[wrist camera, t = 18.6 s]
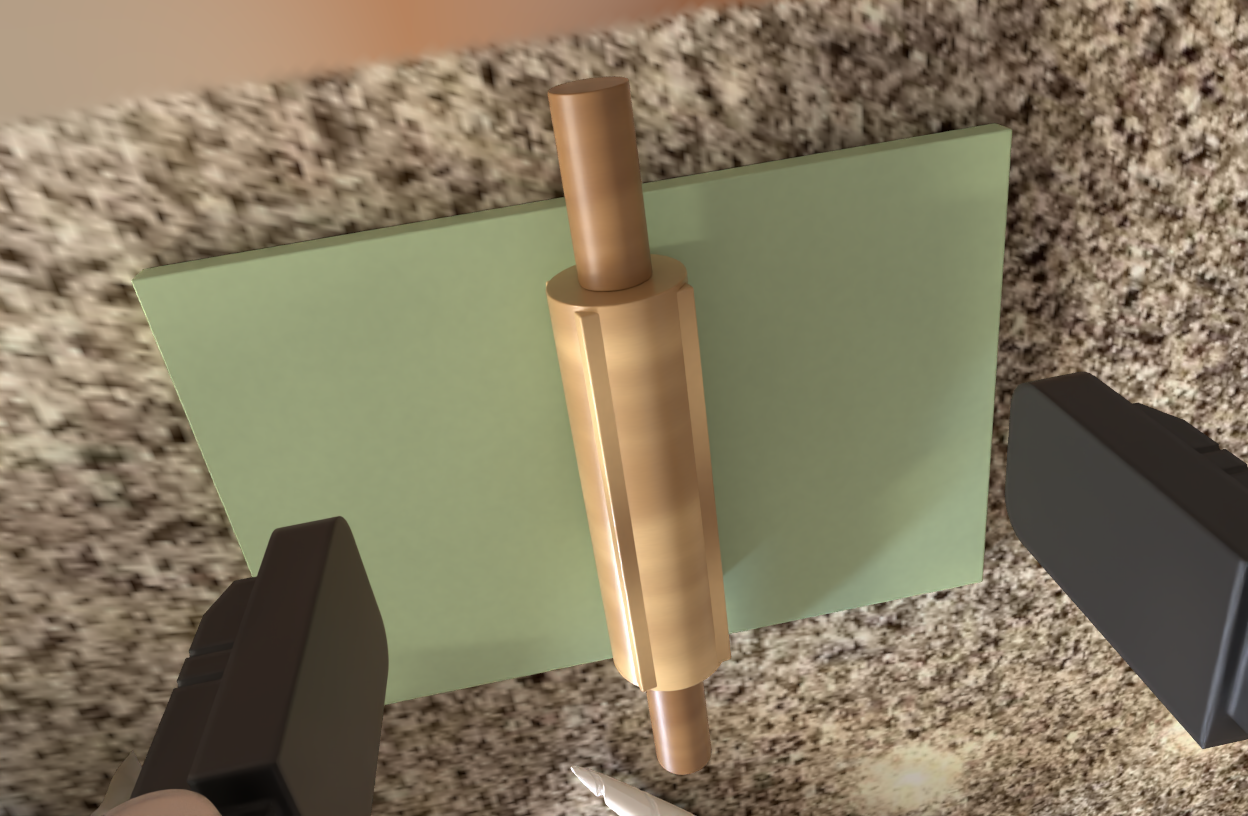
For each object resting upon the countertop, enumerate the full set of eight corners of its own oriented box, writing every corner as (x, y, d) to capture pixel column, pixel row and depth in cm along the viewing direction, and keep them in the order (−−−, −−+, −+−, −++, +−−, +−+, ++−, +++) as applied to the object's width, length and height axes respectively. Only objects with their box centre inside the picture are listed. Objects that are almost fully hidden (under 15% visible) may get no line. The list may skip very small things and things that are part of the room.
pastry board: (996, 122, 33) (1013, 128, 32) (970, 566, 42) (983, 582, 41) (141, 268, 31) (129, 280, 30) (314, 700, 40) (310, 721, 39)
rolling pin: (493, 90, 28) (533, 110, 24) (632, 63, 29) (691, 78, 25) (616, 734, 41) (655, 813, 38) (709, 697, 43) (756, 771, 39)
